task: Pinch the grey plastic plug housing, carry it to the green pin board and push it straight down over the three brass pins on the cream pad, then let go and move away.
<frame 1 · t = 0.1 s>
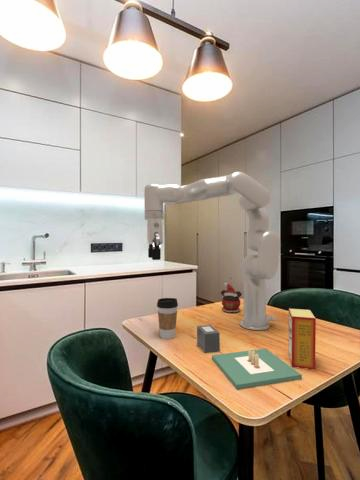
hand: (154, 258, 108), 31 cm above the table, tool pointing down, fingers open, 9 cm apart
coffee cup: (167, 336, 108), on the table
red christmas figurine: (231, 311, 144), on the table
pin board: (253, 368, 82), on the table
plug housing: (207, 347, 98), on the table
baking soda box: (301, 362, 87), on the table
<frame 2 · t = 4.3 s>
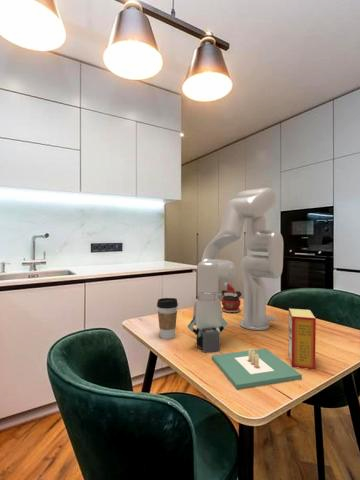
hand: (207, 345, 98), 1 cm above the table, tool pointing down, fingers closed on plug housing, 5 cm apart
plug housing: (207, 347, 98), on the table, touching gripper
everything else where it was.
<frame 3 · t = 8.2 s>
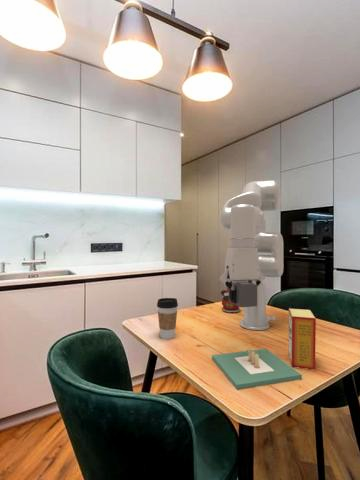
hand: (242, 301, 85), 20 cm above the table, tool pointing down, fingers closed on plug housing, 5 cm apart
plug housing: (242, 303, 85), point 19 cm above the table, touching gripper
everything else where it was.
when the fingers open (2 cm above the table, at t = 12.0 s): plug housing stays where it is, resting on pin board.
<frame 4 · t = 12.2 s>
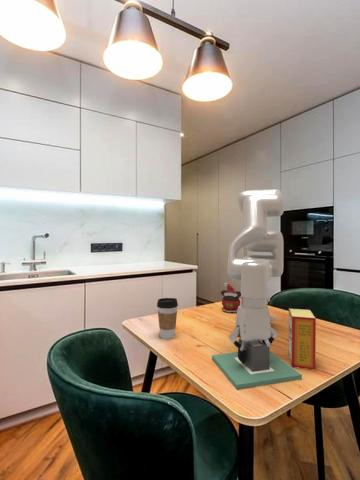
hand: (253, 359, 82), 3 cm above the table, tool pointing down, fingers open, 7 cm apart
plug housing: (253, 363, 82), point 1 cm above the table, touching pin board
everything else where it was.
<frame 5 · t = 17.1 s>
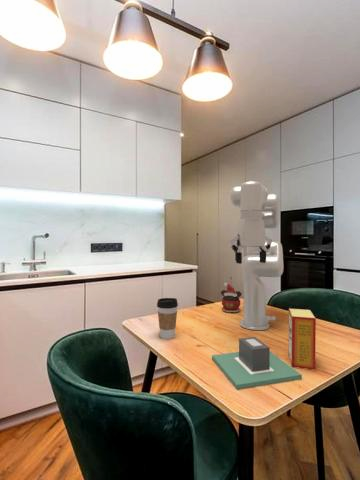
hand: (250, 262, 99), 30 cm above the table, tool pointing down, fingers open, 9 cm apart
nothing on the table moved.
at the end: plug housing 0.0 cm off-centre on the pin board, point 1.3 cm above the pin board's base; plug housing tilted 0°; the gripper is holding nothing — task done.
